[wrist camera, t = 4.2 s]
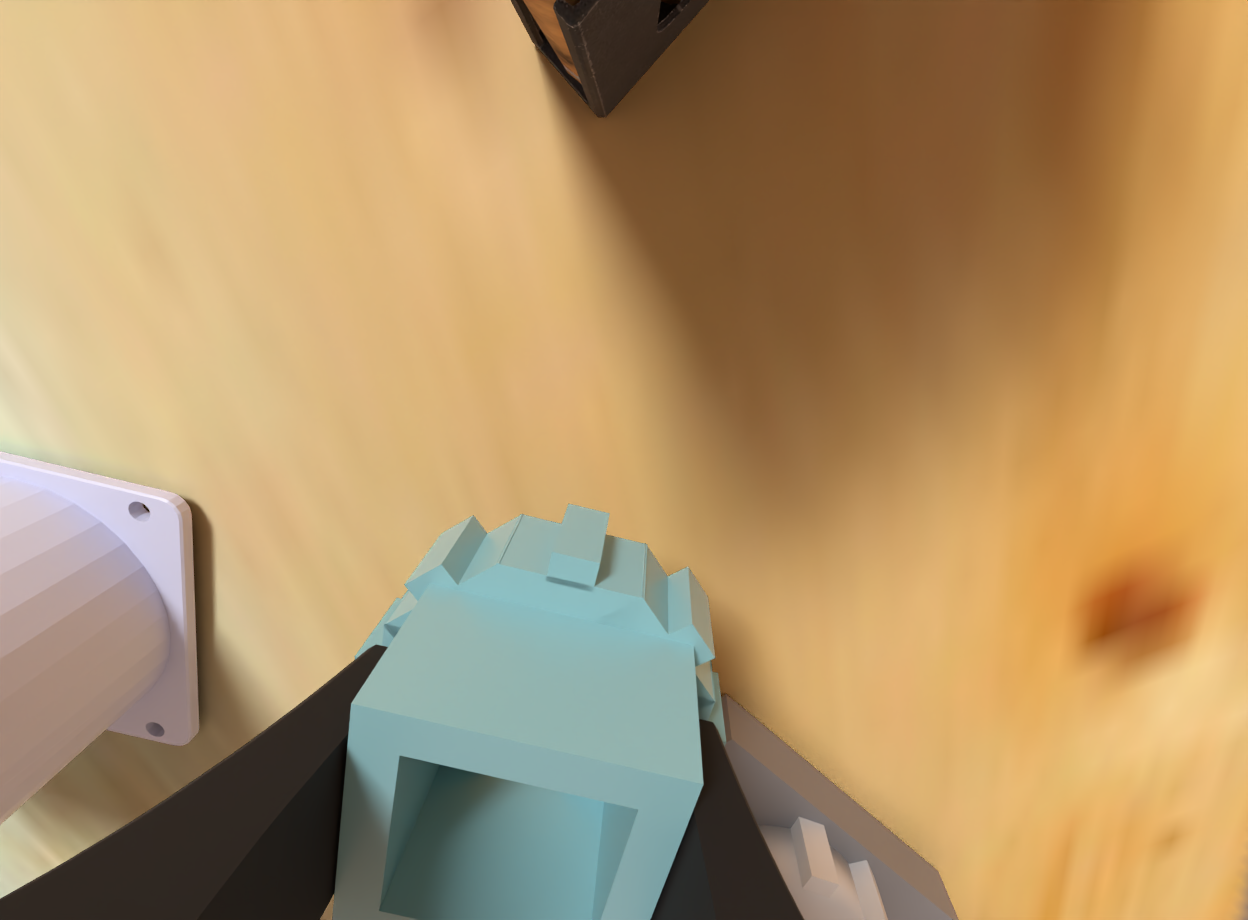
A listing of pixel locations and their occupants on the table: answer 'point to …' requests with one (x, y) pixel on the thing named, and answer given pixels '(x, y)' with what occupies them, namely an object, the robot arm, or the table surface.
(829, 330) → the table surface
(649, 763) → the teal gear
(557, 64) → the ammunition clip
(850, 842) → the gear board
